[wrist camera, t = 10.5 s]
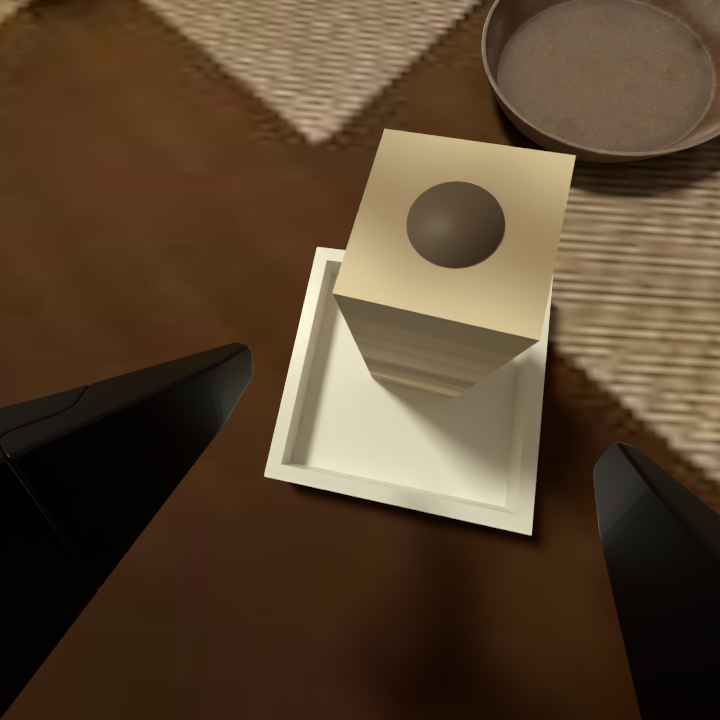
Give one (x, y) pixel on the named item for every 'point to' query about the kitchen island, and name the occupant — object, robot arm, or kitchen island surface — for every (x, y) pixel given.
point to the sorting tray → (406, 425)
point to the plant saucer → (607, 74)
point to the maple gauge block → (451, 258)
